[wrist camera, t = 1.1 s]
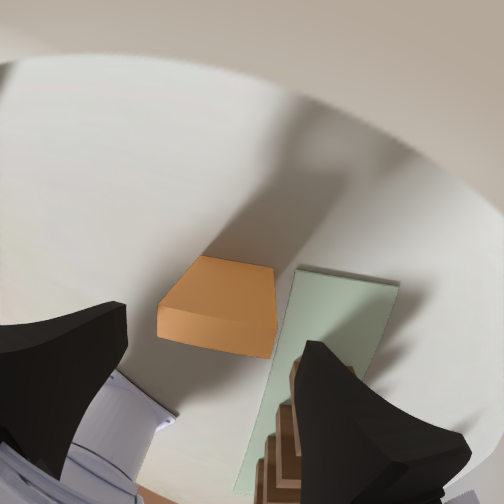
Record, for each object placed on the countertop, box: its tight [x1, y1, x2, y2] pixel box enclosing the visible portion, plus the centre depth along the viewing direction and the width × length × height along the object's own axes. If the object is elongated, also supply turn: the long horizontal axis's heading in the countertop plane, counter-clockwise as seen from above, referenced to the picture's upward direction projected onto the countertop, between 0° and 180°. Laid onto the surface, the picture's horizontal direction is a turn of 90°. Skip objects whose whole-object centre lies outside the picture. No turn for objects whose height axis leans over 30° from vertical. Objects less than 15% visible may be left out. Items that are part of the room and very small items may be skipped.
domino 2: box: [275, 404, 301, 488], centre depth 17 cm, size 2×5×8 cm, turn 81°
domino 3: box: [263, 436, 301, 504], centre depth 19 cm, size 2×5×8 cm, turn 80°
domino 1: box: [254, 459, 264, 504], centre depth 20 cm, size 2×5×8 cm, turn 81°
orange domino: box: [157, 255, 278, 359], centre depth 15 cm, size 2×5×8 cm, turn 81°
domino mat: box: [233, 269, 399, 496], centre depth 22 cm, size 34×8×1 cm, turn 170°
